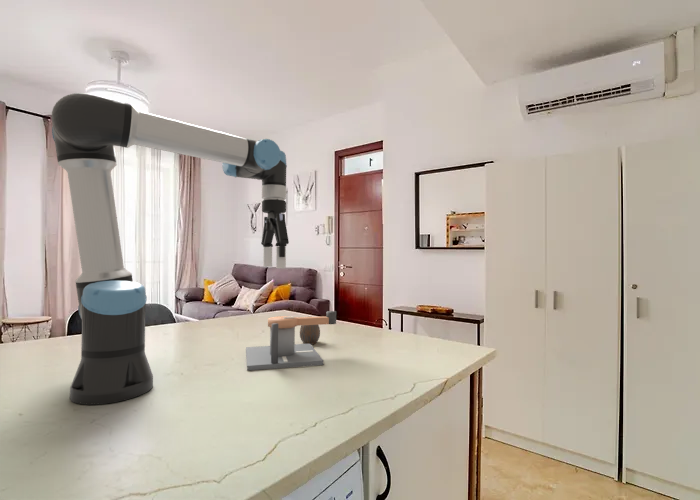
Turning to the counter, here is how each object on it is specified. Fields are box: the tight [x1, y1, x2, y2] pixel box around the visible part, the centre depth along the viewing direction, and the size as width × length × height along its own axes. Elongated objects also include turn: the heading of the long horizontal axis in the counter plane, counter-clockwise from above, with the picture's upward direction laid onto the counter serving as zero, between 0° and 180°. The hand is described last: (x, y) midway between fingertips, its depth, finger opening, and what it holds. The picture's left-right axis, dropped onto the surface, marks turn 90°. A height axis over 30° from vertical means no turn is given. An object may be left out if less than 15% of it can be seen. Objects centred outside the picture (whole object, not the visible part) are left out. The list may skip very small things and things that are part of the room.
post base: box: [245, 323, 324, 371], centre depth 109 cm, size 20×20×12 cm
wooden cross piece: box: [267, 310, 337, 328], centre depth 111 cm, size 20×8×4 cm, turn 106°
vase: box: [299, 325, 321, 345], centre depth 128 cm, size 7×7×9 cm
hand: (274, 267), depth 119 cm, fingers open, 13 cm apart
